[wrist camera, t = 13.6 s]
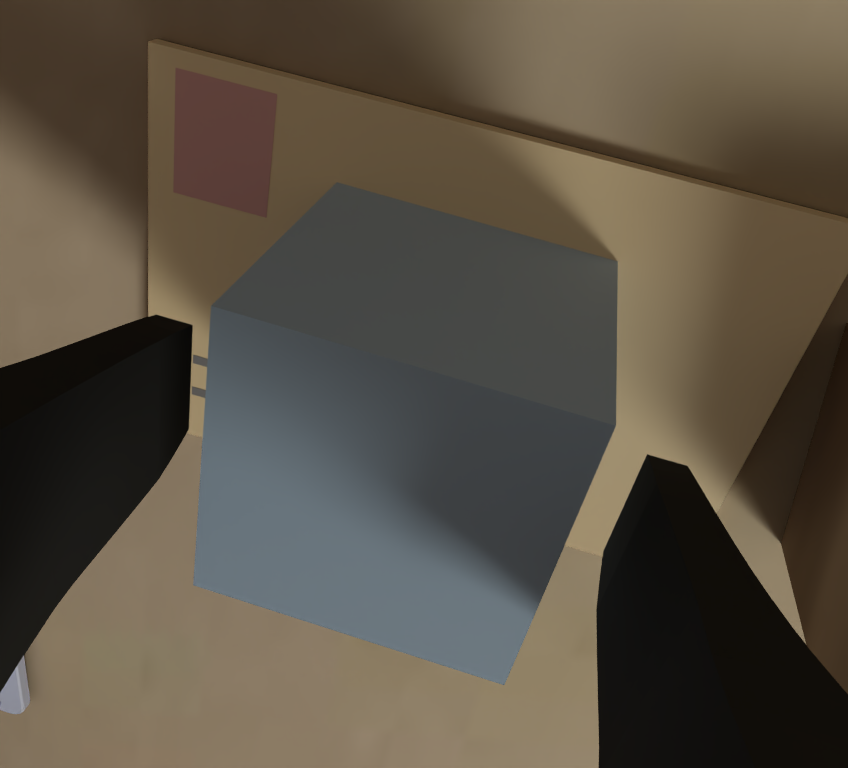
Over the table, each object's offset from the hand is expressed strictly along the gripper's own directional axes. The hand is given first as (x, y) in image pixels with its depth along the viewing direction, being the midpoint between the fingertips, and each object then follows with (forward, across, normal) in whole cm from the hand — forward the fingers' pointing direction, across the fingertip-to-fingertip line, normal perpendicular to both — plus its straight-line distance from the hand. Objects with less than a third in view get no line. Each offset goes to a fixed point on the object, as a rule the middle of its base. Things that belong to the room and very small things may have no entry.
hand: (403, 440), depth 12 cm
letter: (+3, 0, 0) cm, 4 cm away
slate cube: (+3, 0, 0) cm, 3 cm away
